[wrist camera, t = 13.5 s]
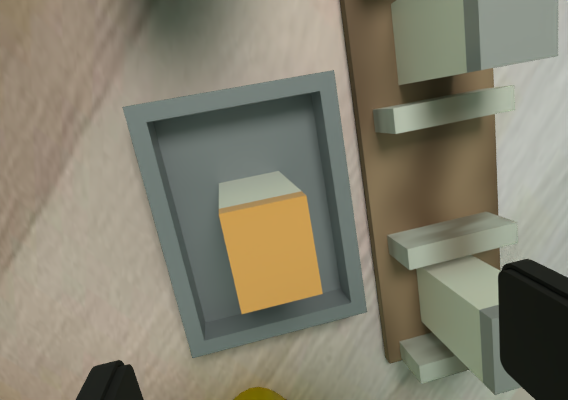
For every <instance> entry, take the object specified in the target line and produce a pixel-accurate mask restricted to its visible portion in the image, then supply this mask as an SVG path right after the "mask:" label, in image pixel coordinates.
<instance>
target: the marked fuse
mask: <svg viewBox="0 0 568 400" xmlns="http://www.w3.org/2000/svg"><path fill="white" fill-rule="evenodd" d="M219 218H220V222H221V226H222V231H223V235H224V239H225V244H226V248H227V252H228V257H229V261H230V265H231V270H232V274H233V278H234V283H235V287H236V291H237V296H238V300H239V304H240V309H241V313H242V314H245V313H249V312H253V311H257V310H261V309H265V308H269V307H273V306H277V305H281V304H285V303H289V302H292V301H296V300H300V299H304V298H308V297H312V296H316V295H320V294H323V292H322V286H321V280H320V274H319V268H318V262H317V256H316V250H315V244H314V238H313V232H312V226H311V220H310V214H309V208H308V202H307V196H306V195H305V194H304V193H303V192H302V191H301V190H300V189H299V188H297V187H296V186H295V185H294V184H293V183H292V182H291V181H289V180H288V179H287V178H286V177H285V176H284V175H283V174H282V173H280V172H279V171H276V172H271V173H266V174H262V175H257V176H252V177H247V178H242V179H237V180H232V181H227V182H223V183H219Z"/></svg>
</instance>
